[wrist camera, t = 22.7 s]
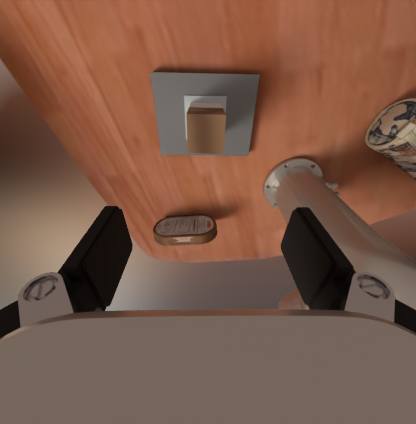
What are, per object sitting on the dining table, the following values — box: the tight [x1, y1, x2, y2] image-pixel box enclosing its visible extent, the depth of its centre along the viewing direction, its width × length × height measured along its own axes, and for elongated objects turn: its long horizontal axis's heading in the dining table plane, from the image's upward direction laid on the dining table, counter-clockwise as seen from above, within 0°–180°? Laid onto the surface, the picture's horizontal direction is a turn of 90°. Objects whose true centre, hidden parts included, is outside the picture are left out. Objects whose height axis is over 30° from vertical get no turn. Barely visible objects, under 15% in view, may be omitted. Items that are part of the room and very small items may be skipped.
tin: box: [153, 215, 217, 246], centre depth 46 cm, size 15×3×8 cm, turn 94°
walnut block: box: [186, 107, 226, 154], centre depth 28 cm, size 5×5×5 cm
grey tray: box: [151, 72, 260, 156], centre depth 35 cm, size 17×13×2 cm
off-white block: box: [189, 103, 223, 108], centre depth 32 cm, size 5×5×5 cm
